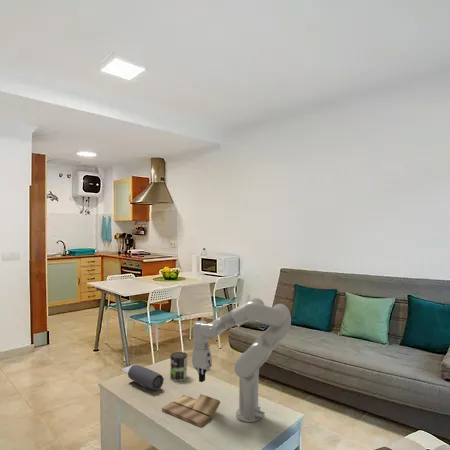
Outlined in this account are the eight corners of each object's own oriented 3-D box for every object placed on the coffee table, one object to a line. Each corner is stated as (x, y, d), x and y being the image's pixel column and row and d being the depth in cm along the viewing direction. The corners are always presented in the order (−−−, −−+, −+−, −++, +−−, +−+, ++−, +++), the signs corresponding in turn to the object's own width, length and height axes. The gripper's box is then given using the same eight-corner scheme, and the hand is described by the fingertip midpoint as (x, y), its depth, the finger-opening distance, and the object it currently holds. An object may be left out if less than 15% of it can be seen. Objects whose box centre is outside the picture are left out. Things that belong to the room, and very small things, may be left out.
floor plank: (210, 419, 170) (211, 416, 170) (200, 427, 163) (200, 423, 163) (172, 404, 184) (172, 401, 184) (161, 411, 177) (161, 407, 177)
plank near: (220, 402, 176) (219, 400, 175) (212, 417, 171) (211, 415, 170) (201, 395, 183) (200, 393, 182) (193, 410, 177) (192, 408, 177)
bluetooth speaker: (164, 389, 202) (164, 371, 202) (151, 394, 194) (151, 376, 194) (139, 378, 216) (140, 361, 216) (127, 383, 209) (127, 366, 209)
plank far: (200, 404, 184) (200, 401, 184) (190, 411, 177) (190, 407, 177) (183, 397, 191) (183, 394, 191) (173, 404, 184) (173, 401, 184)
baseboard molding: (147, 386, 205) (163, 380, 214) (147, 381, 205) (164, 375, 214) (119, 371, 226) (135, 366, 235) (119, 367, 226) (135, 362, 235)
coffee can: (177, 382, 210) (177, 359, 210) (166, 377, 217) (167, 354, 217) (190, 377, 217) (190, 354, 217) (179, 372, 224) (180, 350, 225)
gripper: (216, 345, 181) (218, 381, 181) (194, 341, 190) (195, 375, 189) (207, 349, 175) (209, 387, 174) (185, 345, 184) (186, 380, 183)
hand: (202, 380), depth 182 cm, fingers closed
